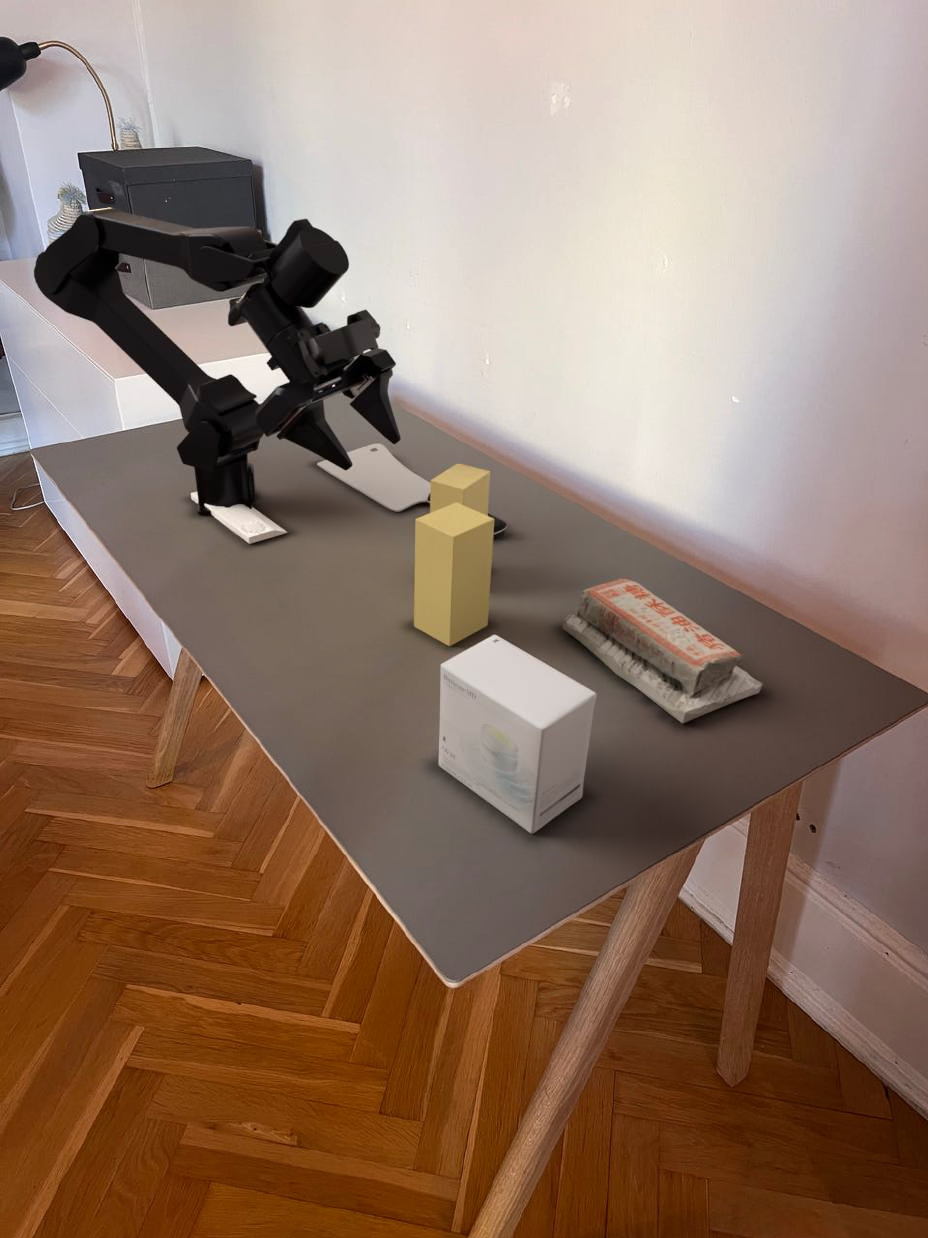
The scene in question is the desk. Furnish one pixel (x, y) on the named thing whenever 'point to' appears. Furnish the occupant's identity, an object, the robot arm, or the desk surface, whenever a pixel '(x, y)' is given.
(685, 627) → the packaged product
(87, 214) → the robot arm
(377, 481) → the kitchen cleaver
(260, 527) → the white flat slab
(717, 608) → the desk surface
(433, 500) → the yellow rectangular block
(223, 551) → the desk surface
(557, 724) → the cosmetics box
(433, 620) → the butter block
